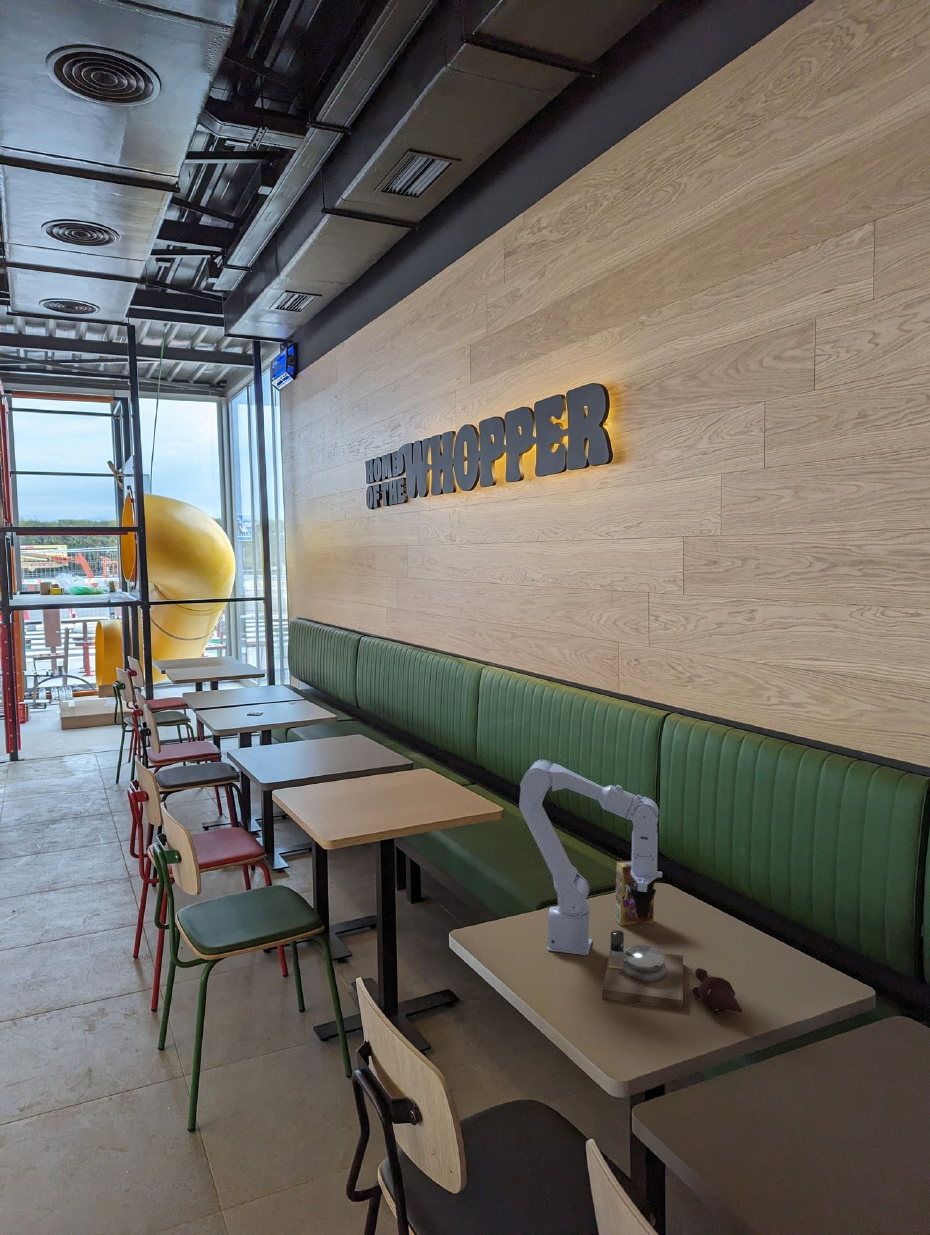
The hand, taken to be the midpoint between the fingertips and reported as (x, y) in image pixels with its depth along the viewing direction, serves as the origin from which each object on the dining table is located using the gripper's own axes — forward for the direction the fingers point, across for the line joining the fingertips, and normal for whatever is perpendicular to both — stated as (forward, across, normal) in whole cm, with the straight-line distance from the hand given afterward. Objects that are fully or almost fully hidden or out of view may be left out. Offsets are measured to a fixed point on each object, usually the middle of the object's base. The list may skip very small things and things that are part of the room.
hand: (643, 911), depth 190 cm
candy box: (+11, +18, +3) cm, 21 cm away
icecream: (+11, -20, -16) cm, 28 cm away
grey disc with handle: (+7, -12, +1) cm, 14 cm away
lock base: (+10, -12, -1) cm, 16 cm away
